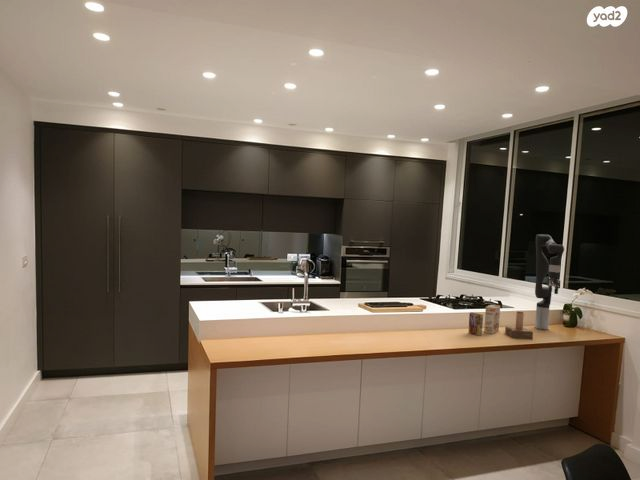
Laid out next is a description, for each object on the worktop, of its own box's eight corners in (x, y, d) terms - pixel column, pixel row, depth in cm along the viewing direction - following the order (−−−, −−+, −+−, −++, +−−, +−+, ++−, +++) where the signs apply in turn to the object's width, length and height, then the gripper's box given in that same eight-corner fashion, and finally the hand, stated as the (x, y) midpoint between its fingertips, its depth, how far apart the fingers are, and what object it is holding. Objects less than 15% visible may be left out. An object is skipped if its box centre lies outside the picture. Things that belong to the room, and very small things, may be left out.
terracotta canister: (514, 328, 328) (515, 311, 328) (520, 328, 328) (521, 311, 328) (517, 329, 324) (518, 312, 323) (523, 329, 324) (524, 312, 323)
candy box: (482, 335, 323) (483, 314, 323) (479, 335, 321) (480, 314, 320) (471, 332, 330) (472, 312, 330) (468, 333, 328) (469, 312, 327)
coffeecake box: (493, 334, 328) (495, 308, 328) (483, 332, 332) (485, 306, 332) (499, 331, 340) (500, 305, 339) (489, 329, 344) (491, 304, 344)
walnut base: (505, 333, 333) (505, 326, 333) (523, 334, 333) (524, 327, 333) (512, 338, 319) (513, 330, 319) (532, 339, 319) (533, 331, 319)
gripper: (544, 270, 337) (543, 291, 338) (554, 272, 323) (552, 294, 324) (554, 270, 337) (553, 291, 338) (564, 272, 323) (563, 294, 323)
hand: (553, 293), depth 331 cm, fingers open, 8 cm apart
